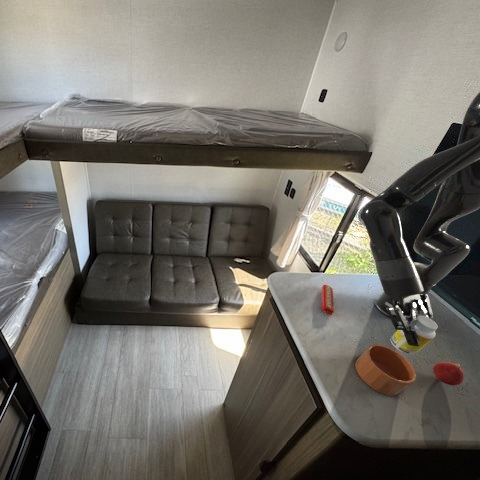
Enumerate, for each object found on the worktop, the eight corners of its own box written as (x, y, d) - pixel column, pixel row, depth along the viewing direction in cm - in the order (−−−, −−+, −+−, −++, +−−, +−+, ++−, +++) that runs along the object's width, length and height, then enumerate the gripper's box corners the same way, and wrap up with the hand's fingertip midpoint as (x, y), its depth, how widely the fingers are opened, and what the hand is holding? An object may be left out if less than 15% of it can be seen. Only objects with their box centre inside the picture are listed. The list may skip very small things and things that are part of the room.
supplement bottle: (420, 353, 65) (448, 329, 59) (404, 357, 64) (431, 333, 58) (399, 335, 70) (424, 311, 64) (383, 338, 69) (407, 314, 63)
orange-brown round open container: (369, 352, 80) (381, 339, 76) (408, 386, 72) (424, 373, 68) (346, 364, 76) (358, 351, 72) (385, 402, 68) (401, 389, 64)
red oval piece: (457, 392, 71) (479, 378, 67) (435, 387, 72) (455, 373, 68) (443, 372, 76) (462, 357, 71) (422, 368, 77) (440, 353, 72)
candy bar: (331, 317, 91) (335, 312, 89) (320, 313, 92) (324, 308, 90) (330, 289, 103) (333, 284, 101) (320, 286, 104) (323, 281, 102)
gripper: (399, 281, 59) (425, 354, 57) (431, 267, 64) (456, 334, 62) (364, 282, 66) (386, 348, 64) (396, 270, 71) (418, 330, 69)
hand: (421, 341), depth 63 cm, fingers closed on supplement bottle, 5 cm apart
